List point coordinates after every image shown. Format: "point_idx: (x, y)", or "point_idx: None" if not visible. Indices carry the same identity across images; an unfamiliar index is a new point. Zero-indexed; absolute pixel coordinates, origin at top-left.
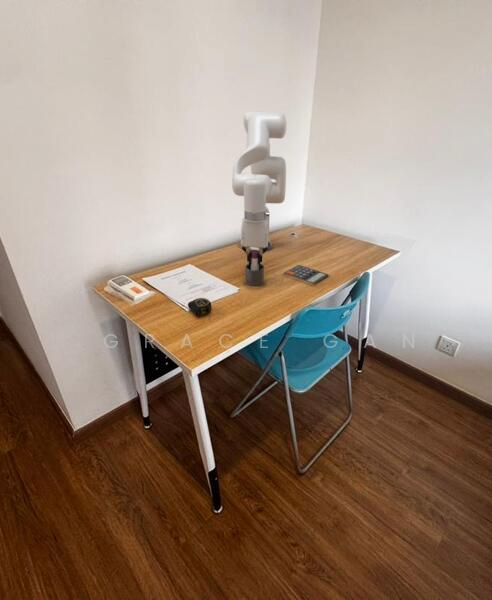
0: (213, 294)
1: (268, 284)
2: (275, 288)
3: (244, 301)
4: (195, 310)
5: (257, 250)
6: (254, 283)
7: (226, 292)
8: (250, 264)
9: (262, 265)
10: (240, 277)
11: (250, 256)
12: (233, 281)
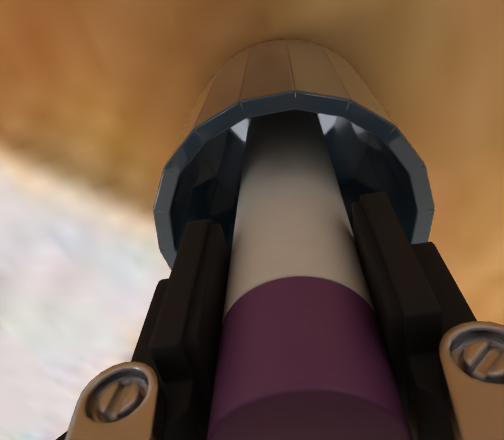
0: (54, 342)
1: (420, 99)
2: (492, 161)
3: None
4: None
5: (369, 409)
6: None
7: (118, 305)
8: (198, 147)
9: (400, 157)
10: (87, 17)
11: None
12: (70, 130)
